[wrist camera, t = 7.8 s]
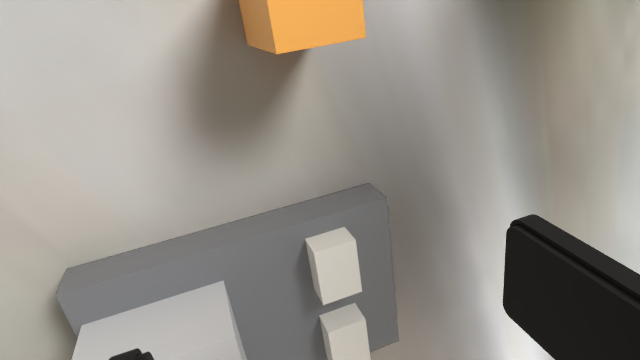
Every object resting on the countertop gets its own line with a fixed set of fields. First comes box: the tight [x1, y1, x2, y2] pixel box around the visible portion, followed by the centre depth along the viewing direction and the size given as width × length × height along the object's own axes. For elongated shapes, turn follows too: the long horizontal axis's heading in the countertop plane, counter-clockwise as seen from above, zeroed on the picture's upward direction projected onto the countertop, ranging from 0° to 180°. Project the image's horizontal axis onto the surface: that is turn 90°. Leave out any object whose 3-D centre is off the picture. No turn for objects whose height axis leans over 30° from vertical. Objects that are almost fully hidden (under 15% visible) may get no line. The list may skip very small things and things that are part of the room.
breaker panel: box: [55, 183, 399, 360], centre depth 28 cm, size 22×14×8 cm, turn 99°
